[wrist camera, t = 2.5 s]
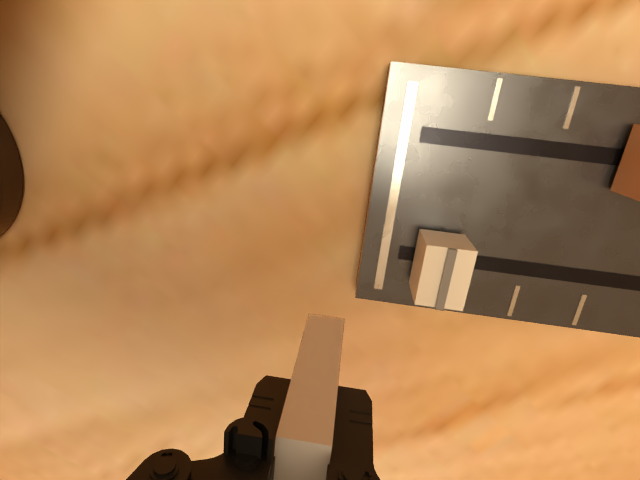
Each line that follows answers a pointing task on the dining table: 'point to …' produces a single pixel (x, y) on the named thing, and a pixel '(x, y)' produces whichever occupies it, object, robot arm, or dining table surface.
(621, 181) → the fader terracotta
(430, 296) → the fader ivory
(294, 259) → the dining table surface
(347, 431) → the robot arm
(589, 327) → the console
